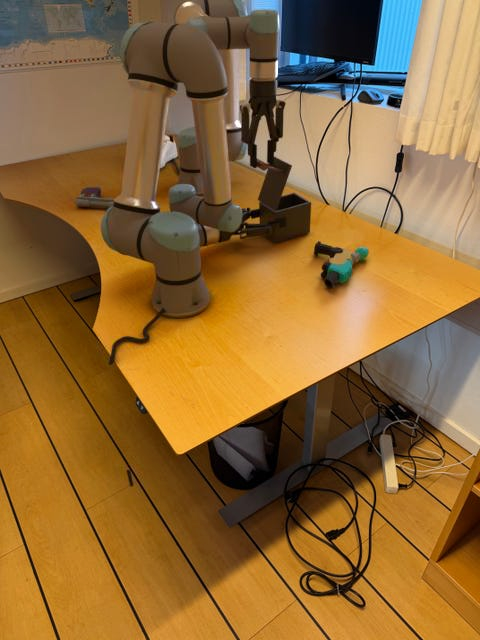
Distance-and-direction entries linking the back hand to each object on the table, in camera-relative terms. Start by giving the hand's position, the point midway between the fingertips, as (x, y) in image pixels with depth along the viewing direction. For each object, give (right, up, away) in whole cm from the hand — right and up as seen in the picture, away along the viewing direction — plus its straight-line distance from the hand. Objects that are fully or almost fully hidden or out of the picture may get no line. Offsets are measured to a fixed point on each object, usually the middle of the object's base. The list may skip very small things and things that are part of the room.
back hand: (261, 164), depth 141 cm
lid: (+5, -4, +6) cm, 8 cm away
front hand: (+5, -12, +12) cm, 18 cm away
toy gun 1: (-59, -2, +40) cm, 71 cm away
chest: (+8, -17, +17) cm, 26 cm away
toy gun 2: (+20, -32, -3) cm, 38 cm away
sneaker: (-44, +25, +77) cm, 92 cm away
